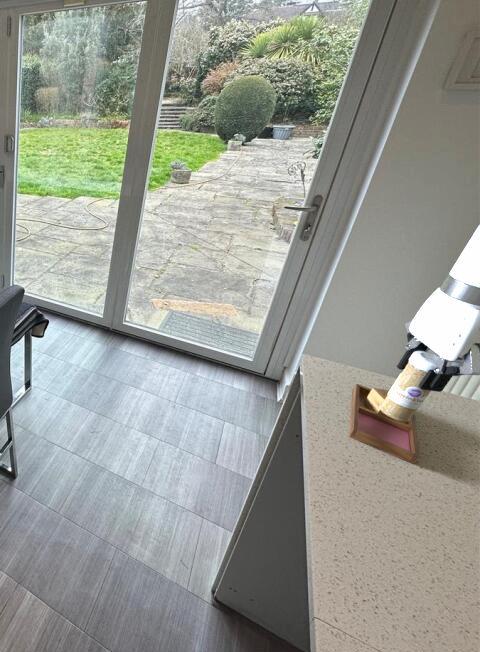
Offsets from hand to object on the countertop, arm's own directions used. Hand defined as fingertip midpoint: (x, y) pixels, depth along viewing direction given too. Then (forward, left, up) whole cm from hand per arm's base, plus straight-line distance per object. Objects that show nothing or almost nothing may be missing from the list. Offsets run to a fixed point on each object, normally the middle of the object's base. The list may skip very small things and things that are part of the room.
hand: (418, 378), depth 74 cm
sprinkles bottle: (0, 0, -9) cm, 9 cm away
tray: (-2, -4, -15) cm, 15 cm away
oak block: (-4, -7, -14) cm, 17 cm away
